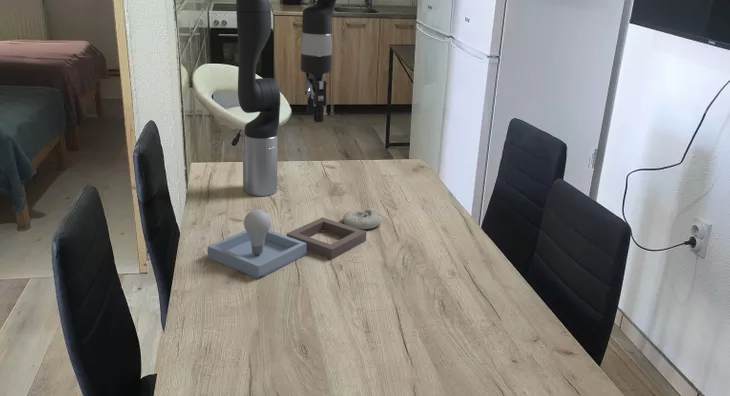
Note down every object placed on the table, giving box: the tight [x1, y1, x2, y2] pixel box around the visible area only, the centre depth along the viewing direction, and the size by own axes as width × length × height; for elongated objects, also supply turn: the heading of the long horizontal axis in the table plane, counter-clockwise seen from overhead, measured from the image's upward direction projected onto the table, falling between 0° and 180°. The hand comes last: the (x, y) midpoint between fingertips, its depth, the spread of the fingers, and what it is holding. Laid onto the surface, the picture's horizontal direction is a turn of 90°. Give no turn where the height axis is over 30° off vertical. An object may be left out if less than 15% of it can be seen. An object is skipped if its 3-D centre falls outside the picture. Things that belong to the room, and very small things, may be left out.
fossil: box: [342, 207, 383, 230], centre depth 173 cm, size 11×4×10 cm
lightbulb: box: [243, 209, 272, 255], centre depth 149 cm, size 6×6×11 cm
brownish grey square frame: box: [286, 217, 367, 260], centre depth 160 cm, size 14×14×2 cm
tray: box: [206, 229, 308, 280], centre depth 151 cm, size 16×16×3 cm
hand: (314, 117), depth 163 cm, fingers open, 8 cm apart
